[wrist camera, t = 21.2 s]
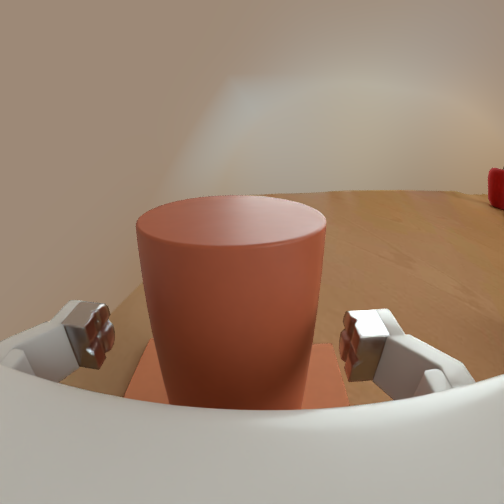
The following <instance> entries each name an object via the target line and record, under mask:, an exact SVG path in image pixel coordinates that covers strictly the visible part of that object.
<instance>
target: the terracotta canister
mask: <svg viewBox="0 0 504 504" xmlns="http://www.w3.org/2000/svg"><path fill="white" fill-rule="evenodd" d="M136 233H137V242H138V250H139V257H140V264H141V271H142V278H143V284H144V290H145V296H146V302H147V307H148V313H149V318H150V323H151V328H152V333H153V338H154V343H155V347H156V352H157V356H158V361H159V365H160V369H161V373H162V377H163V381H164V385H165V389H166V393H167V396H168V400H169V404H170V405H179V406H189V407H200V408H214V409H234V410H301V407H302V402H303V397H304V391H305V386H306V380H307V374H308V368H309V362H310V356H311V349H312V343H313V336H314V329H315V322H316V315H317V307H318V299H319V291H320V283H321V274H322V265H323V255H324V245H325V234H326V219H325V217H324V215H323V214H321V213H320V212H319V211H317V210H316V209H314V208H312V207H309V206H307V205H304V204H301V203H298V202H294V201H290V200H285V199H279V198H272V197H263V196H247V195H227V196H226V195H225V196H208V197H199V198H191V199H186V200H181V201H176V202H172V203H168V204H164V205H161V206H159V207H156V208H154V209H151V210H149V211H148V212H146V213H144V214H143V215H142V216H141V217H139V219H138V220H137V223H136Z"/></svg>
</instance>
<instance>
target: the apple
mask: <svg viewBox="0 0 504 504" xmlns="http://www.w3.org/2000/svg"><path fill="white" fill-rule="evenodd" d="M488 199H489V201H490V203H491V205H492V206H494V207H497V208H500V209H503V210H504V168H503V170H501V169H498V168H492V169H491V170H490V171H489V175H488Z"/></svg>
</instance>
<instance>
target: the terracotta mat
mask: <svg viewBox="0 0 504 504" xmlns="http://www.w3.org/2000/svg"><path fill="white" fill-rule="evenodd" d="M123 398H128V399H134V400H141V401H147V402H154V403H162V404H169V400H168V396H167V393H166V389H165V385H164V381H163V377H162V373H161V369H160V365H159V361H158V356H157V352H156V347H155V343H154V339H150V340H149V342H148V344H147V346H146V348H145V351H144V353H143V355H142V357H141V359H140V361H139V364H138V366H137V368H136V370H135V372H134V374H133V377H132V379H131V381H130V383H129V386H128V388H127V390H126V392H125V395H124V397H123ZM346 406H350V404H349V400H348V397H347V393H346V390H345V386H344V383H343V379H342V376H341V372H340V369H339V366H338V362H337V359H336V356H335V352H334V349H333V346H332V343H325V344H312V349H311V356H310V362H309V368H308V374H307V380H306V386H305V391H304V397H303V402H302V407H301V410H302V409H321V408H335V407H346Z"/></svg>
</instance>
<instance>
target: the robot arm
mask: <svg viewBox="0 0 504 504" xmlns="http://www.w3.org/2000/svg"><path fill="white" fill-rule="evenodd" d="M109 316H110V311H109V308H108V306H107V305H106V304H103V303H94V302H86V301H78V300H70V301H69V302H68V303H67V304H66V305H65V306H64V307H63V308H62V309H61V310H60V311H59V312H58V313H57V314H56V315H55V316H54V318H53V319H51V321H50V322H44V323H42V324H39V325H37V326H35V327H32V328H30V329H28V330H25V331H23V332H21V333H18V334H16V335H14V336H11V337H9V338H7V339H4V340H2V341H0V504H504V374H502V375H499V376H496V377H492V378H489V379H486V380H483V381H479V382H475V381H474V379H473V378H472V376H471V375H470V373H469V372H468V370H467V369H466V367H465V366H464V365H463V363H462V362H460V361H458V360H456V359H454V358H452V357H451V356H449V355H447V354H445V353H443V352H441V351H439V350H437V349H435V348H434V347H432V346H430V345H428V344H426V343H424V342H422V341H420V340H419V339H417V338H415V337H413V336H411V335H405V333H404V332H403V330H402V329H401V327H400V326H399V324H398V322H397V321H396V319H395V318H394V316H393V315H392V313H391V312H390V310H389V309H375V310H362V311H346V312H345V315H344V318H343V324H344V326H345V329H344V330H343V331H342V332H341V334H340V339H339V351H340V356H341V359H342V360H343V361H345V362H346V363H345V367H344V369H345V372H346V375H347V378H348V381H349V382H355V381H369V380H373V382H374V383H375V384H376V385H377V386H379V387H380V388H381V389H382V390H383V391H384V392H385V393H386V394H388V395H389V396H390V397H391V398H392V399H393V401H387V402H380V403H373V404H365V405H356V406H346V407H335V408H321V409H302V410H234V409H214V408H200V407H189V406H179V405H170V404H162V403H154V402H147V401H141V400H134V399H128V398H123V397H117V396H112V395H107V394H102V393H97V392H93V391H88V390H84V389H80V388H76V387H72V386H68V385H64V384H60V383H59V382H60V381H61V380H63V379H64V378H66V377H67V376H68V375H70V374H71V373H73V372H74V371H75V370H77V369H78V368H79V367H85V368H91V369H97V370H99V369H100V367H101V366H102V364H103V362H104V360H105V359H106V356H105V353H106V352H108V351H110V350H111V348H112V347H113V345H114V340H115V330H114V326H113V324H112V323H111V322H110V321H109V320H108V319H109Z"/></svg>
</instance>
